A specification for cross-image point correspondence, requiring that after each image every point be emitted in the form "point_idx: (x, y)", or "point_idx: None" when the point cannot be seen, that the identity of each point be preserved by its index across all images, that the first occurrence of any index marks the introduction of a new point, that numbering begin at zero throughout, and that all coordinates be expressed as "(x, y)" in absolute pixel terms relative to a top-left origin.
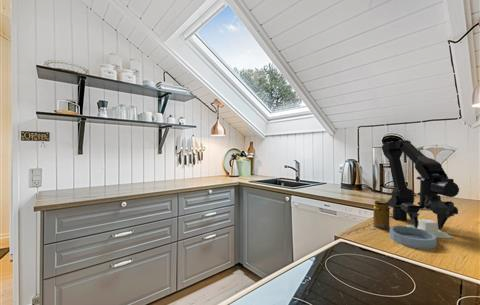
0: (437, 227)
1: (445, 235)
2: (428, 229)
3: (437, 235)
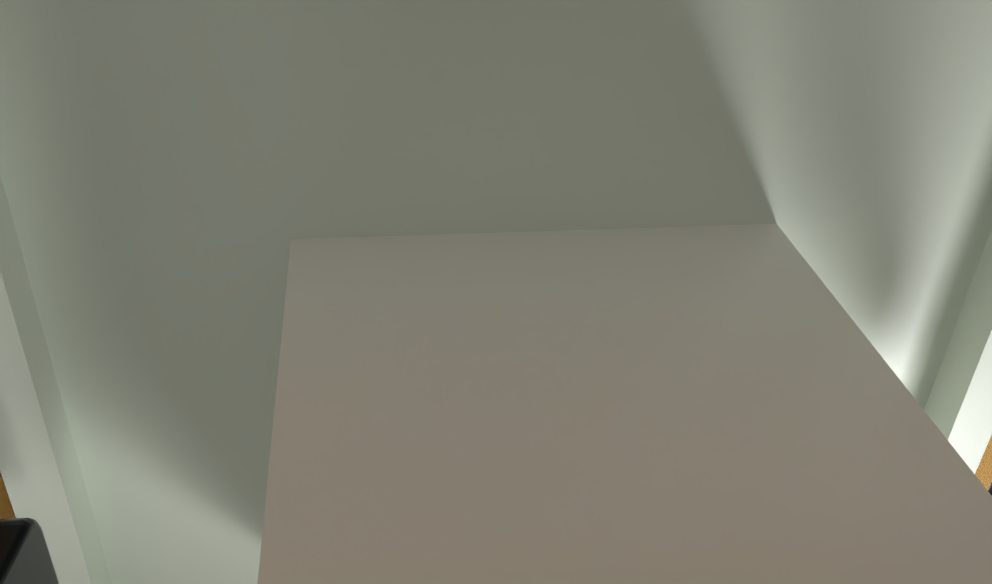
0: (294, 445)
1: (16, 108)
2: (732, 338)
3: (425, 55)
